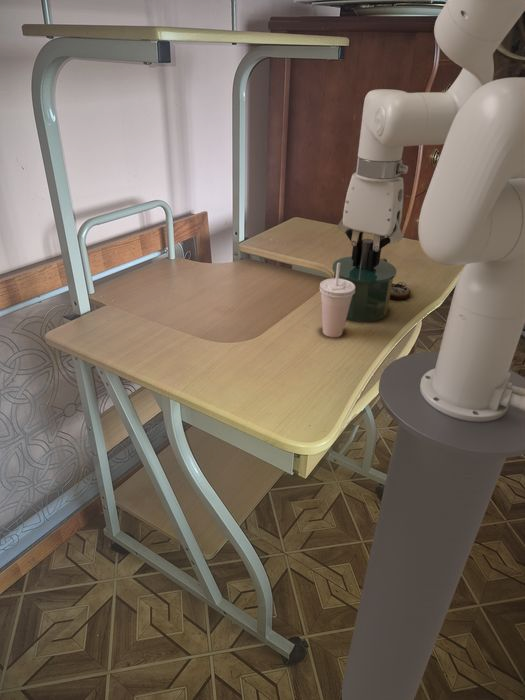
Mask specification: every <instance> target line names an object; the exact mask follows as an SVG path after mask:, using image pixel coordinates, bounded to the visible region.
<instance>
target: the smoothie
mask: <svg viewBox="0 0 525 700" xmlns="http://www.w3.org/2000/svg"><path fill="white" fill-rule="evenodd" d="M339 272H340V263H337V270H336V278H334V277H332V278H326V279H324V280H322V281H320V283H319V291H320V294H321V295H320V297H321V298H320V300H321V319H322V321H321V323H322V324H321V325H322V333H323V335H325V336H327V337H329V338H338V337H341V336H342V335H343V332H344V328H345V325H346V321H347V319H346V318H347V314H348V310H349V307H350V303H351V299H352V295H354V293H355V285H354V284H353V283H352V282H350V281H348V280H345V279H339Z"/></svg>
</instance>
